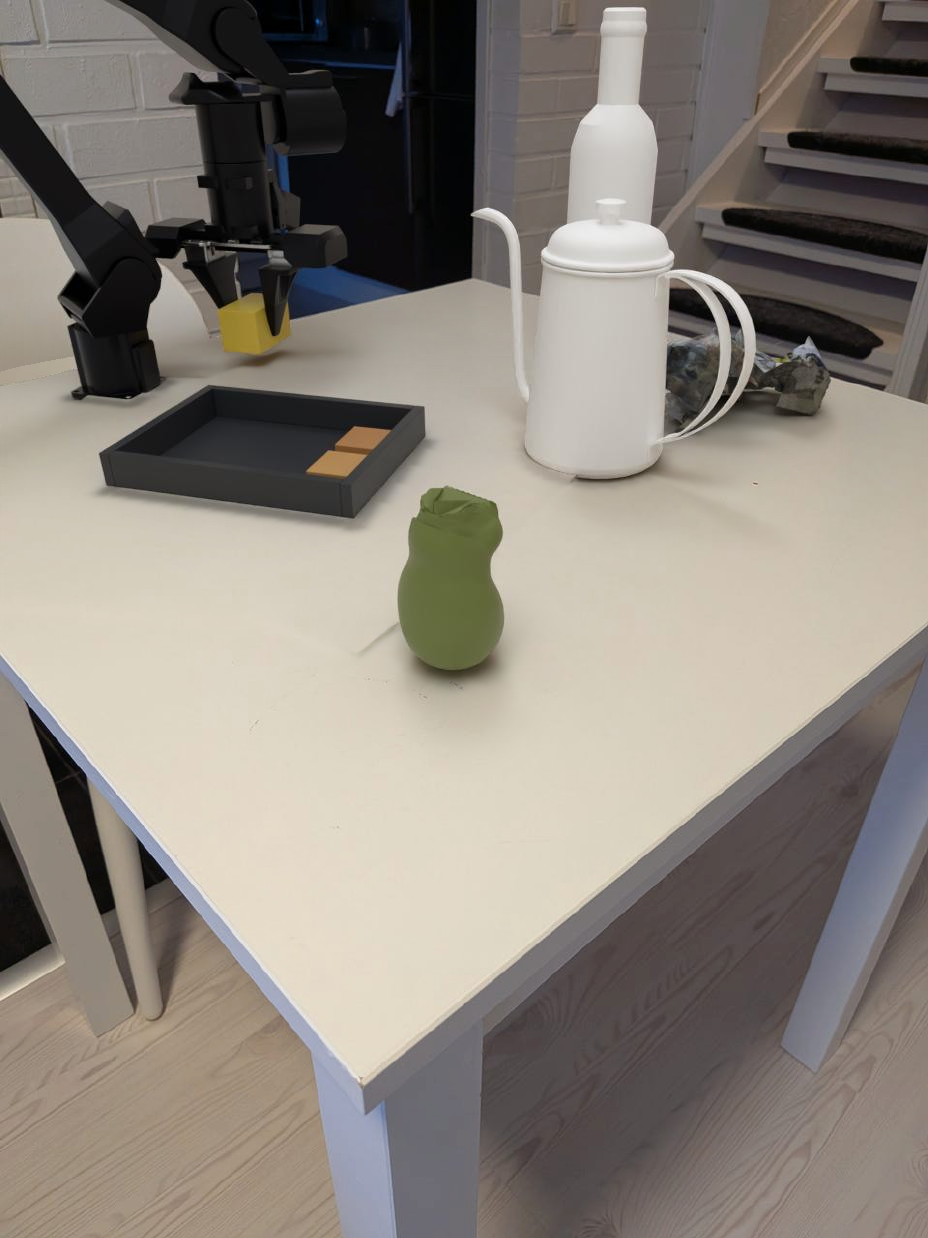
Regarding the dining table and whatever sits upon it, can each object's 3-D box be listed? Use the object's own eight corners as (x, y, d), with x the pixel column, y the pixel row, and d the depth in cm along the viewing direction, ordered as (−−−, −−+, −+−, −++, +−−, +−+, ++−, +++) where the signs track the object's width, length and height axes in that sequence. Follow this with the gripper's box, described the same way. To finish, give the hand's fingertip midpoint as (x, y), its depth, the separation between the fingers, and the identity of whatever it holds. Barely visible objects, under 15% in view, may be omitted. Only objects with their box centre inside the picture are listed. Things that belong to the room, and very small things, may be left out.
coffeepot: (511, 400, 84) (517, 173, 73) (763, 476, 69) (813, 207, 59) (428, 433, 77) (421, 189, 67) (687, 524, 63) (729, 231, 52)
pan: (107, 492, 67) (98, 452, 66) (213, 418, 80) (208, 384, 78) (353, 525, 63) (350, 484, 61) (425, 442, 75) (424, 406, 74)
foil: (864, 401, 73) (720, 293, 70) (768, 498, 79) (631, 403, 76) (835, 351, 83) (707, 254, 79) (751, 441, 89) (629, 354, 85)
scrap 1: (307, 490, 66) (305, 470, 65) (330, 468, 69) (328, 450, 69) (359, 496, 65) (357, 477, 64) (379, 474, 68) (378, 455, 68)
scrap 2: (336, 462, 70) (334, 444, 70) (355, 443, 74) (354, 425, 73) (384, 468, 69) (383, 450, 69) (402, 448, 73) (401, 430, 72)
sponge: (223, 351, 90) (216, 309, 87) (256, 332, 95) (251, 292, 93) (260, 354, 89) (254, 312, 86) (291, 334, 94) (287, 294, 92)
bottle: (560, 351, 96) (579, 8, 80) (636, 354, 95) (670, 7, 79) (556, 375, 89) (575, 6, 73) (637, 378, 88) (675, 6, 72)
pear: (381, 662, 49) (370, 493, 44) (445, 620, 53) (442, 459, 47) (461, 703, 46) (460, 527, 41) (523, 656, 50) (530, 488, 44)
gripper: (363, 152, 87) (373, 319, 95) (190, 147, 91) (213, 307, 100) (315, 167, 78) (330, 350, 87) (125, 160, 83) (157, 334, 91)
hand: (256, 333), depth 91 cm, fingers closed on sponge, 4 cm apart
